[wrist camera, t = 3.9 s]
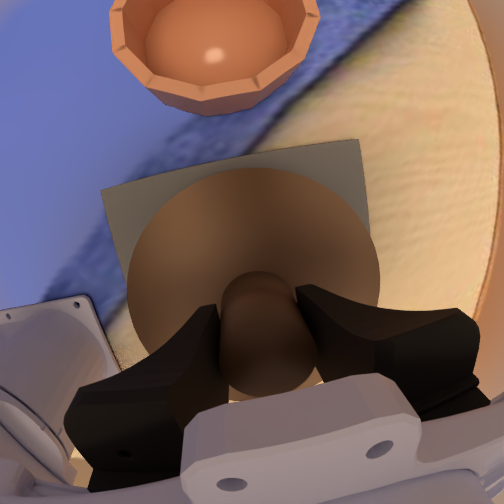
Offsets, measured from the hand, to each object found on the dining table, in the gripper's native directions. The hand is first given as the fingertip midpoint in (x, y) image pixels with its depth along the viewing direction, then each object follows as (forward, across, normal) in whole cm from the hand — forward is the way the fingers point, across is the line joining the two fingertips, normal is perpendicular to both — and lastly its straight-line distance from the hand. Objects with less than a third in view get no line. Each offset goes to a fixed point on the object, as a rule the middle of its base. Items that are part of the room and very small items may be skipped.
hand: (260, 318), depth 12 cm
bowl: (+7, -1, -13) cm, 15 cm away
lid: (+2, 0, 0) cm, 2 cm away
